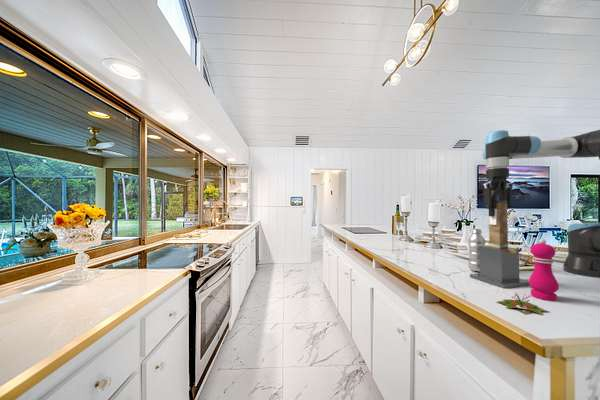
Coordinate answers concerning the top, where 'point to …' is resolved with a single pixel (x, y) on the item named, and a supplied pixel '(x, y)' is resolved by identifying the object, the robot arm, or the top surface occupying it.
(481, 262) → the sleeve
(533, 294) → the pepper mill
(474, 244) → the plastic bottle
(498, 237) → the column
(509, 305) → the lily flower
